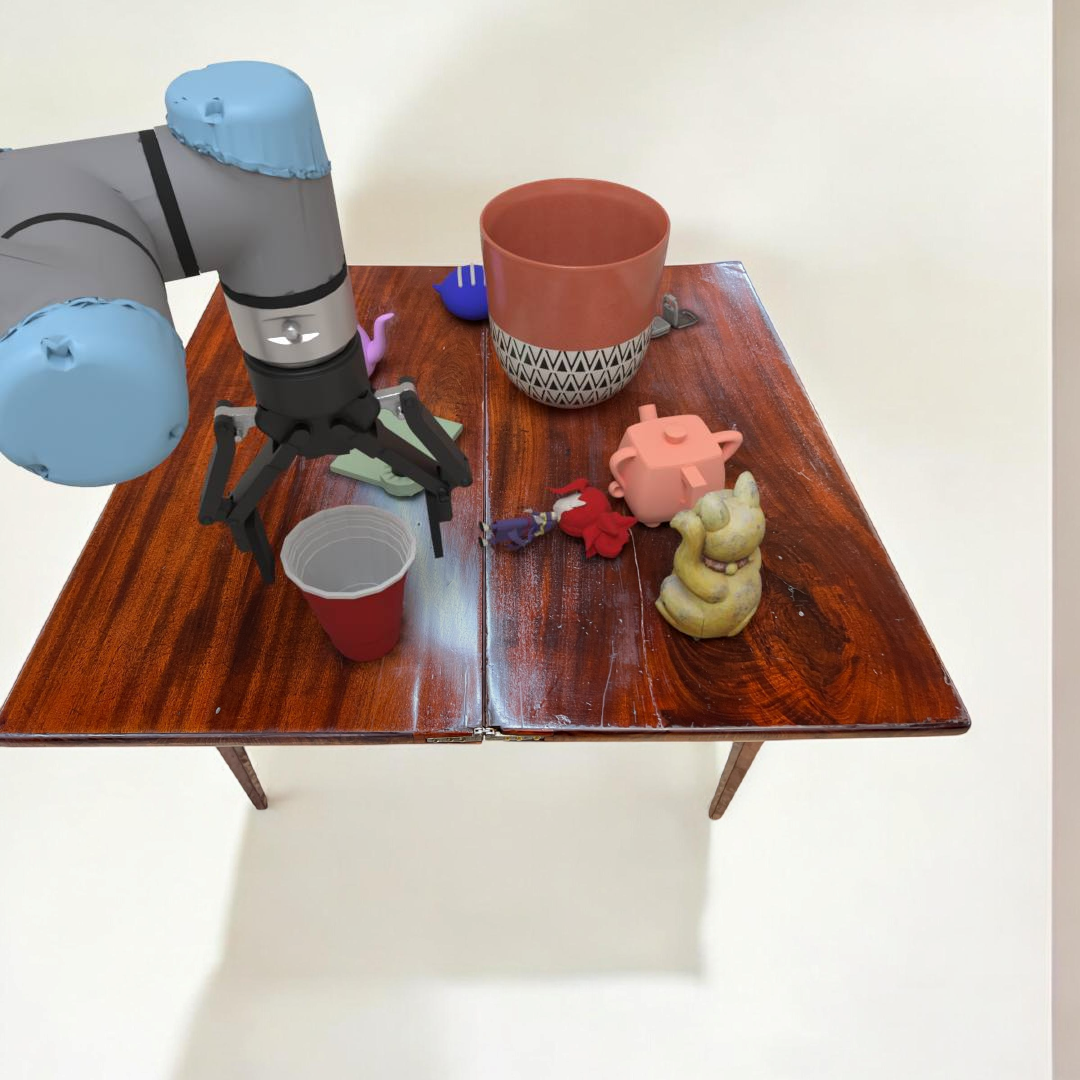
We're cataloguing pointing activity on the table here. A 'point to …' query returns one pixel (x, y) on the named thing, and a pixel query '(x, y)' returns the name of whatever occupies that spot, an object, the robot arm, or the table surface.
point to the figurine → (569, 522)
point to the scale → (379, 471)
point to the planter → (572, 285)
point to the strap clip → (671, 317)
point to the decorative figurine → (716, 563)
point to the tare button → (398, 473)
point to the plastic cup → (353, 575)
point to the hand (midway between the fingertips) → (355, 559)
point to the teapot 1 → (374, 342)
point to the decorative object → (465, 292)
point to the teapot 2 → (669, 464)
